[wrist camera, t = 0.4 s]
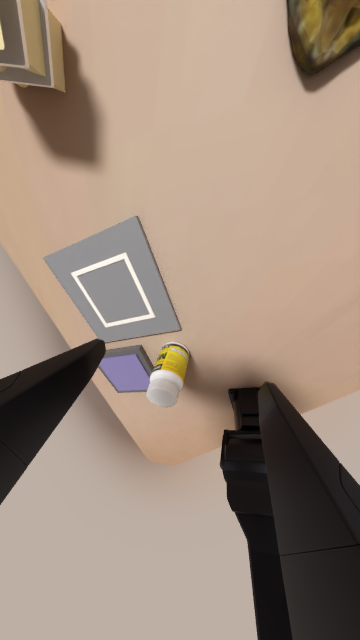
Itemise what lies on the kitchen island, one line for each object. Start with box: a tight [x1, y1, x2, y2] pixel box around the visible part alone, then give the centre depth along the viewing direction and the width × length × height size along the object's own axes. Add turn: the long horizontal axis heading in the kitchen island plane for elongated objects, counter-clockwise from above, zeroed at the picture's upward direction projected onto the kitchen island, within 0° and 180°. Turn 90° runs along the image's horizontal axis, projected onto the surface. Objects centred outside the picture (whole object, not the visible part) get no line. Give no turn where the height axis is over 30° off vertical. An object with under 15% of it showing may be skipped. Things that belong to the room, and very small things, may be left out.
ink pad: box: [98, 345, 154, 393], centre depth 32 cm, size 11×11×1 cm
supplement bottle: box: [146, 342, 189, 407], centre depth 24 cm, size 5×5×8 cm
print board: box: [43, 216, 181, 342], centre depth 24 cm, size 15×15×1 cm
